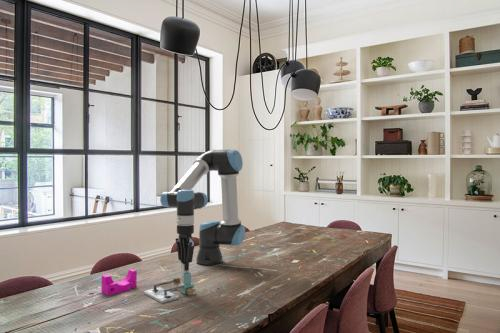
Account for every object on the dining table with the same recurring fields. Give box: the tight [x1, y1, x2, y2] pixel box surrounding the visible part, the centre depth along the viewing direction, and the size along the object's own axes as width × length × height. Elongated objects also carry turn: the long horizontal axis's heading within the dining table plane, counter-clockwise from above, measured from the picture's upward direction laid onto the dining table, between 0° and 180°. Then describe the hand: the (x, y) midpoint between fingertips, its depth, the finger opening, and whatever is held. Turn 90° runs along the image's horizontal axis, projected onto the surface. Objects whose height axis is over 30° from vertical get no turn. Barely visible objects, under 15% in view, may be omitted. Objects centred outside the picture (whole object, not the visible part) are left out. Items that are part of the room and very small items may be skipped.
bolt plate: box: [143, 286, 180, 304], centre depth 165 cm, size 8×16×1 cm, turn 42°
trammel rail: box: [153, 277, 197, 296], centre depth 169 cm, size 13×16×4 cm
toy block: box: [101, 268, 138, 296], centre depth 173 cm, size 15×6×8 cm, turn 135°
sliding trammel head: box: [163, 272, 195, 296], centre depth 166 cm, size 14×3×8 cm, turn 132°
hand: (185, 277), depth 170 cm, fingers closed
